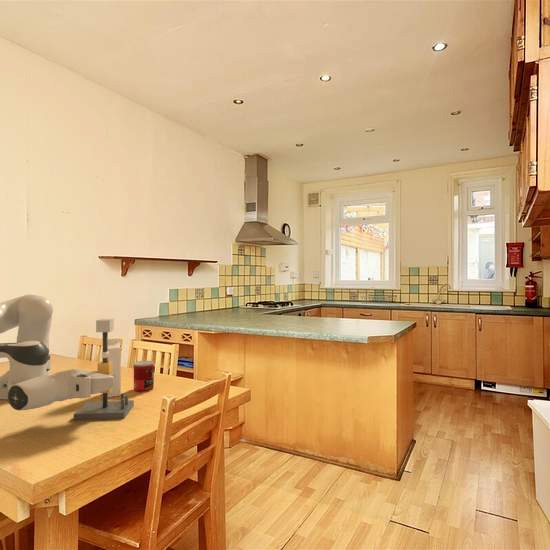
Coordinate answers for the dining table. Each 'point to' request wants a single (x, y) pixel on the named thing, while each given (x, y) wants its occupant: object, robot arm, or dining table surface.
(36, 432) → the dining table surface
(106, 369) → the sleeve
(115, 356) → the milk
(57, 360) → the dining table surface
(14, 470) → the dining table surface
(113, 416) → the stand
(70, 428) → the dining table surface
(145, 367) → the canned food
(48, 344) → the robot arm
